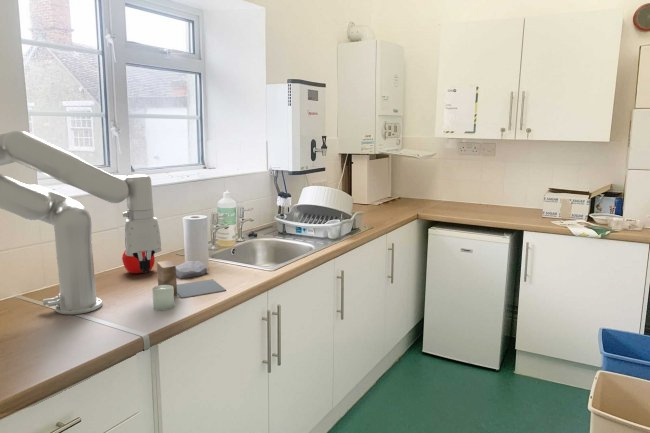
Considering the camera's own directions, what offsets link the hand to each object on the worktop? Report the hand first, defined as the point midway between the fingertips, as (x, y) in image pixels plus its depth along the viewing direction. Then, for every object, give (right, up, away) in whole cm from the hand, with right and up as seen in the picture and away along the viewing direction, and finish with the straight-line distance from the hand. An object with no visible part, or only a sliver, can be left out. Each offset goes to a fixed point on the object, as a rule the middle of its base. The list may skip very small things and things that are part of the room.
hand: (145, 271), depth 157 cm
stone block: (+7, -4, +27) cm, 28 cm away
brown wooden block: (+6, -8, +5) cm, 11 cm away
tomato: (-12, -4, +29) cm, 31 cm away
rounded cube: (+8, -10, -7) cm, 15 cm away
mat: (+14, -7, +10) cm, 19 cm away
